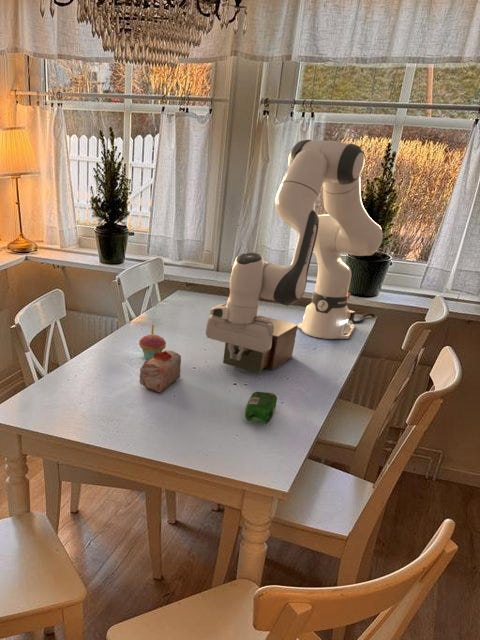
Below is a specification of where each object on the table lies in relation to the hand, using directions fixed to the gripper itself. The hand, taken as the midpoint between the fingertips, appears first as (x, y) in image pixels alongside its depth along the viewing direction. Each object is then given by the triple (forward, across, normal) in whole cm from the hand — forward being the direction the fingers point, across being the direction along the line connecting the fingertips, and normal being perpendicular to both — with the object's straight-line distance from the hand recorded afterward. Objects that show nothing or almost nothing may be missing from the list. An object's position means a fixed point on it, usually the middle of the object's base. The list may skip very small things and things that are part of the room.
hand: (235, 359), depth 194 cm
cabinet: (+6, 0, -20) cm, 21 cm away
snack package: (+6, -19, +20) cm, 28 cm away
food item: (+6, +13, +20) cm, 25 cm away
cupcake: (+6, +27, +4) cm, 28 cm away
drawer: (+5, 0, -10) cm, 11 cm away
